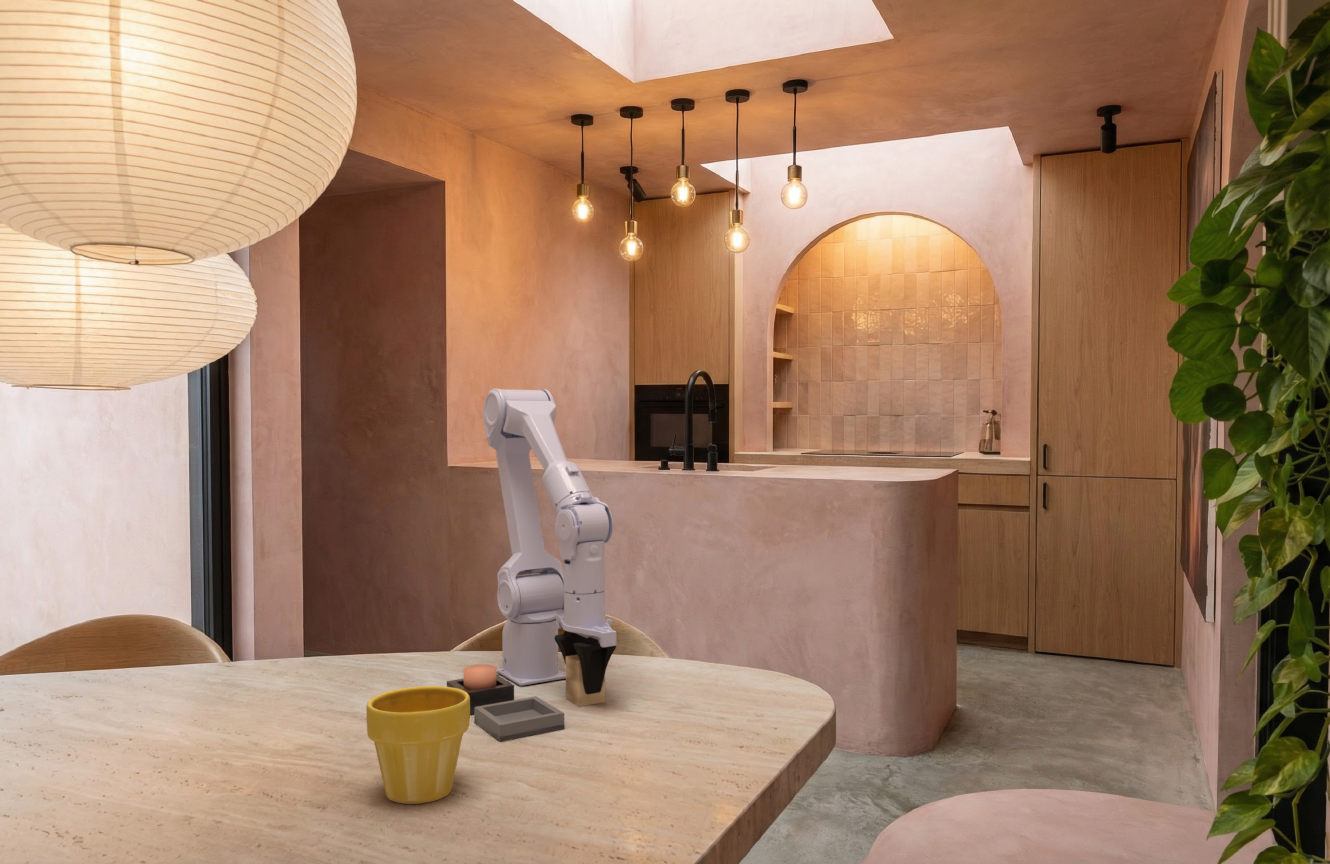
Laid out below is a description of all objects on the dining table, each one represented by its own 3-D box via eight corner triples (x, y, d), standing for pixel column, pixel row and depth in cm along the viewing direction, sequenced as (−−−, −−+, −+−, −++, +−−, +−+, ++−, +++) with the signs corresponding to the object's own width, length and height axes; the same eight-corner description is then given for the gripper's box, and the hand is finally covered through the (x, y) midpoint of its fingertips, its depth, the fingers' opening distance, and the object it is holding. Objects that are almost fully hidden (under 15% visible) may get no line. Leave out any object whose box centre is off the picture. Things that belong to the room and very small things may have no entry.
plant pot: (430, 765, 103) (429, 678, 103) (491, 788, 96) (490, 695, 96) (347, 794, 95) (346, 700, 95) (406, 821, 88) (405, 720, 88)
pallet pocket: (474, 722, 118) (474, 706, 118) (536, 711, 122) (536, 696, 122) (499, 741, 111) (499, 725, 111) (564, 728, 115) (564, 712, 115)
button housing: (446, 702, 126) (446, 681, 126) (494, 694, 130) (494, 673, 130) (464, 716, 120) (464, 693, 120) (514, 707, 124) (514, 685, 124)
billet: (566, 699, 128) (565, 656, 128) (591, 694, 130) (591, 652, 130) (578, 706, 124) (578, 662, 124) (605, 701, 126) (604, 658, 126)
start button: (459, 689, 126) (458, 667, 126) (489, 684, 128) (489, 662, 128) (470, 696, 122) (470, 674, 122) (501, 691, 125) (501, 669, 125)
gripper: (635, 595, 123) (636, 696, 123) (586, 580, 135) (587, 672, 135) (588, 601, 119) (589, 705, 119) (542, 585, 132) (543, 679, 132)
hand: (585, 688), depth 127 cm, fingers closed on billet, 4 cm apart
